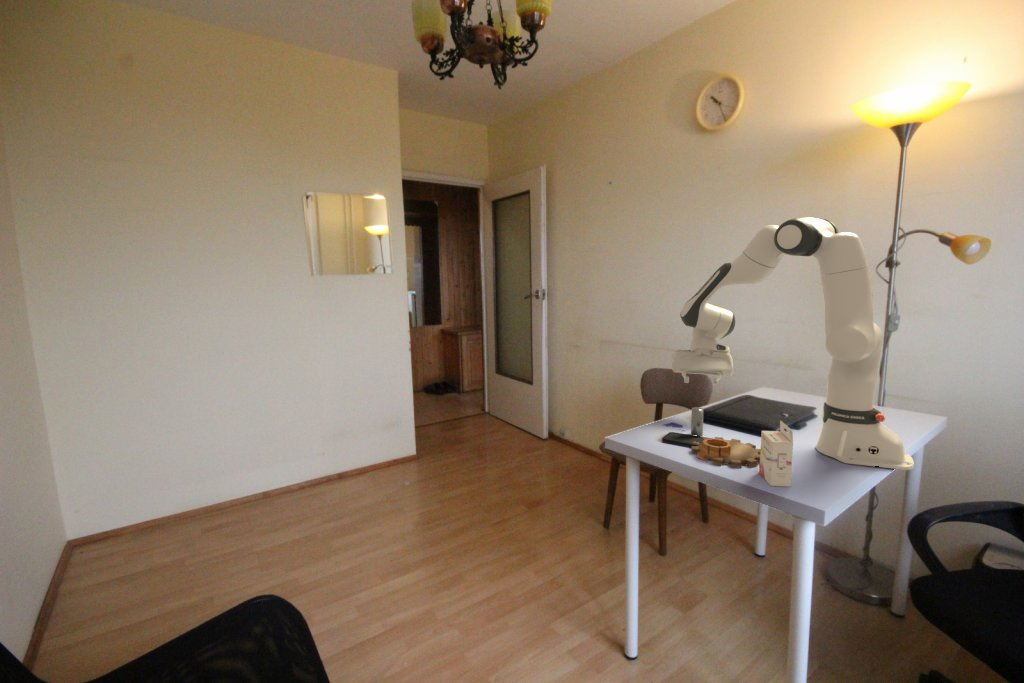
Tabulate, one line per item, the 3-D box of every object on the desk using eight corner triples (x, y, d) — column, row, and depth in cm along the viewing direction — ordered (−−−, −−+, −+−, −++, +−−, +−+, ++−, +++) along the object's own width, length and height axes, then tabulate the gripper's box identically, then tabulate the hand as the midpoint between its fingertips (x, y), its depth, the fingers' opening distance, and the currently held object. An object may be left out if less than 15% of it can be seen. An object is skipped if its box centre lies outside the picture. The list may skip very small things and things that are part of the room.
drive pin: (703, 434, 153) (704, 408, 152) (701, 437, 150) (702, 411, 149) (692, 432, 155) (693, 406, 153) (689, 435, 152) (690, 409, 151)
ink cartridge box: (757, 471, 124) (760, 419, 122) (777, 472, 123) (781, 419, 121) (769, 486, 116) (773, 430, 114) (791, 487, 115) (795, 430, 113)
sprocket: (767, 449, 139) (768, 436, 139) (761, 473, 123) (761, 459, 122) (698, 437, 150) (699, 425, 149) (684, 458, 134) (684, 445, 133)
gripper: (672, 344, 171) (668, 375, 163) (734, 347, 162) (732, 380, 155) (673, 354, 175) (670, 385, 168) (733, 357, 166) (732, 390, 159)
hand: (700, 383), depth 161 cm, fingers open, 8 cm apart
